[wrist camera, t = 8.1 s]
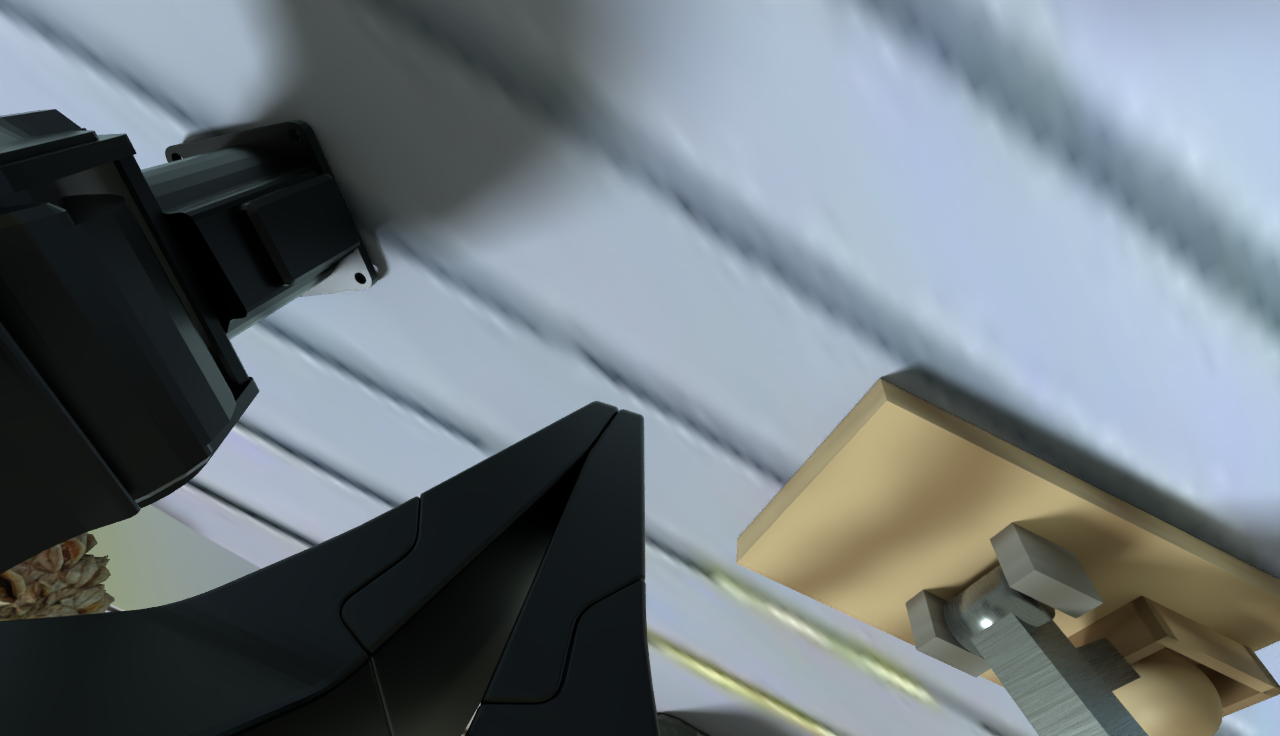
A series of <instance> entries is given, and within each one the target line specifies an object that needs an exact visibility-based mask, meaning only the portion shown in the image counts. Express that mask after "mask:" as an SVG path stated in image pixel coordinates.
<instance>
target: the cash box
mask: <svg viewBox="0 0 1280 736" xmlns="http://www.w3.org/2000/svg"><path fill="white" fill-rule="evenodd" d="M657 718H658V724H659V731H660V736H707V735H705V734H703V733H701V732H700V731H698V730H696V729H694V728H693V727H691V726H689V725H687V724H686V723H684V722H682V721H681V720H679V719H677V718H674V717H670V716H667V715H664V714H659V715H657Z"/></svg>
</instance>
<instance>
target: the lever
mask: <svg viewBox="0 0 1280 736" xmlns="http://www.w3.org/2000/svg"><path fill="white" fill-rule="evenodd" d="M943 617H944V620H945V622H946V625H947V627H948V628H949V630H950V632H951V633H952V634H953V636H954V637H955V638H956V640H957V641H958V642H959V643H960V644H961V645H962V646H963V647H964V648H966V649H967V650H968V651H969V652H971V653H972V654H974V655H976V656H978V657H981V658H984V659H985V661H986V662H987V663H988V665H989V666H990V668H991V669H992V670H993V672H994V673H995V675H996V676H997V677H998V679H999V680H1000V682H1001V683H1002V684H1003V686H1004V687H1005V689H1006V690H1007V691H1008V693H1009V694H1010V696H1011V697H1012V698H1013V700H1014V701H1015V703H1016V704H1017V705H1018V707H1019V708H1020V710H1021V711H1022V712H1023V714H1024V715H1025V717H1026V718H1027V719H1028V721H1029V722H1030V724H1031V725H1032V726H1033V728H1034V729H1035V731H1036V732H1037V733H1038V735H1039V736H1148V734H1147V733H1146V732H1145V731H1144V730H1143V728H1142V727H1141V726H1140V725H1139V724H1138V722H1137V721H1136V720H1135V719H1134V718H1133V716H1132V715H1131V714H1130V713H1129V712H1128V710H1127V709H1126V708H1125V707H1124V706H1123V704H1122V703H1121V702H1120V701H1119V699H1118V698H1117V697H1116V696H1115V695H1114V693H1113V692H1112V691H1114V690H1116V689H1118V688H1120V687H1122V686H1124V685H1126V684H1128V683H1130V682H1132V681H1134V680H1136V679H1138V678H1140V675H1139V674H1138V673H1137V672H1136V671H1135V670H1134V669H1133V667H1132V666H1131V665H1130V664H1129V663H1128V662H1127V661H1126V659H1125V658H1124V657H1123V656H1122V655H1121V654H1120V653H1119V651H1118V650H1117V649H1116V648H1115V647H1114V646H1113V645H1112V643H1111V642H1110V641H1109V640H1108V639H1107V638H1106V637H1105V638H1102V639H1099V640H1097V641H1094V642H1091V643H1088V644H1086V645H1083V646H1080V647H1078V648H1075V646H1074V645H1073V644H1072V643H1071V641H1070V640H1069V639H1068V638H1067V637H1066V635H1065V634H1064V633H1063V632H1062V631H1061V629H1060V628H1059V627H1058V626H1057V625H1056V623H1055V622H1054V621H1053V620H1052V619H1054V617H1055V608H1053V607H1050V606H1048V605H1046V604H1044V603H1042V602H1040V601H1038V600H1036V599H1034V598H1032V597H1030V596H1028V595H1025V594H1023V593H1021V592H1019V591H1017V590H1015V589H1013V588H1011V587H1009V584H1008V582H1007V579H1006V577H1005V575H1004V572H1003V570H1002V568H1001V565H999V566H998V567H996V568H995V569H993V570H992V571H991V572H989V573H988V574H986V575H985V576H984V577H982V578H981V579H979V580H978V581H977V582H975V583H974V584H972V585H971V586H970V587H968V588H967V589H965V590H964V591H963V592H961V593H960V594H958V595H957V596H956V597H954V598H953V599H951V600H950V601H949V602H947V603H946V604H945V605H944V606H943Z"/></svg>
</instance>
